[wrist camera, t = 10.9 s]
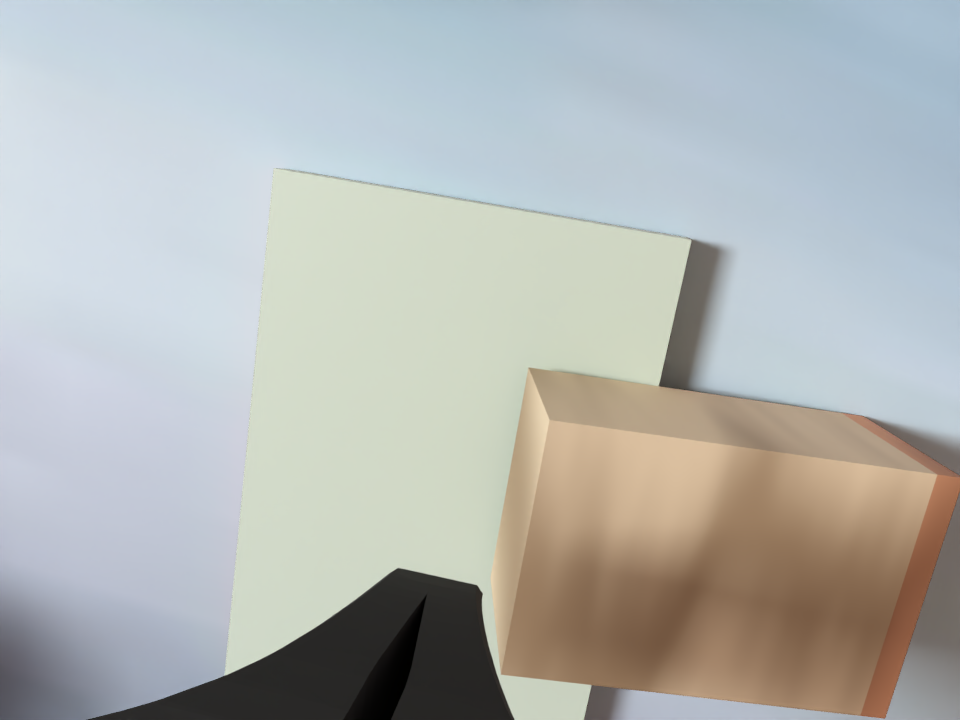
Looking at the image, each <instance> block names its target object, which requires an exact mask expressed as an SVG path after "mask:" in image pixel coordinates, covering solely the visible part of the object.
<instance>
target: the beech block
mask: <svg viewBox="0 0 960 720" xmlns="http://www.w3.org/2000/svg"><path fill="white" fill-rule="evenodd" d="M959 492H960V476H959V475H958V474H956V473H955V472H953V471H951V470H950V469H948V468H946V467H945V466H943V465H942V464H940V463H938V462H937V461H935V460H933V459H932V458H930V457H929V456H927V455H925V454H924V453H922V452H920V451H919V450H917V449H916V448H914V447H912V446H911V445H909V444H907V443H906V442H904V441H903V440H901V439H899V438H898V437H896V436H895V435H893V434H891V433H890V432H888V431H886V430H885V429H883V428H882V427H880V426H878V425H877V424H875V423H873V422H872V421H870V420H869V419H867V418H865V417H864V416H859V415H852V414H845V413H838V412H831V411H824V410H818V409H811V408H804V407H797V406H790V405H783V404H776V403H770V402H763V401H756V400H749V399H742V398H735V397H728V396H722V395H715V394H708V393H701V392H694V391H687V390H680V389H674V388H667V387H660V386H653V385H646V384H639V383H632V382H626V381H619V380H612V379H605V378H598V377H591V376H584V375H578V374H571V373H564V372H557V371H550V370H543V369H536V368H530V367H529V368H528V373H527V379H526V384H525V390H524V395H523V401H522V406H521V412H520V417H519V423H518V428H517V434H516V439H515V445H514V450H513V456H512V461H511V467H510V472H509V478H508V483H507V489H506V494H505V500H504V505H503V511H502V516H501V522H500V527H499V533H498V539H497V544H496V550H495V555H494V561H493V566H492V572H491V577H490V579H491V588H492V597H493V606H494V616H495V625H496V634H497V644H498V653H499V662H500V671H501V675H508V676H516V677H525V678H534V679H543V680H552V681H560V682H569V683H578V684H587V685H595V686H604V687H613V688H622V689H631V690H639V691H648V692H657V693H666V694H674V695H683V696H692V697H701V698H710V699H718V700H727V701H736V702H745V703H753V704H762V705H771V706H780V707H789V708H797V709H806V710H815V711H824V712H832V713H841V714H850V715H859V716H868V717H876V718H885V717H886V714H887V711H888V708H889V705H890V702H891V699H892V696H893V693H894V690H895V686H896V683H897V680H898V677H899V674H900V671H901V668H902V665H903V662H904V659H905V656H906V653H907V650H908V647H909V644H910V641H911V638H912V635H913V632H914V629H915V626H916V623H917V620H918V617H919V614H920V610H921V607H922V604H923V601H924V598H925V595H926V592H927V589H928V586H929V583H930V580H931V577H932V574H933V571H934V568H935V565H936V562H937V559H938V556H939V553H940V550H941V547H942V544H943V541H944V537H945V534H946V531H947V528H948V525H949V522H950V519H951V516H952V513H953V510H954V507H955V504H956V501H957V498H958V495H959Z"/></svg>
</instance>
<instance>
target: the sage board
mask: <svg viewBox="0 0 960 720" xmlns="http://www.w3.org/2000/svg"><path fill="white" fill-rule="evenodd" d="M691 241H692V240H691V239H689V238H687V237H681V236H676V235H670V234H664V233H658V232H652V231H646V230H641V229H635V228H629V227H623V226H617V225H611V224H606V223H600V222H594V221H588V220H582V219H576V218H571V217H565V216H559V215H553V214H547V213H542V212H536V211H530V210H524V209H518V208H512V207H507V206H501V205H495V204H489V203H483V202H477V201H472V200H466V199H460V198H454V197H448V196H442V195H437V194H431V193H425V192H419V191H413V190H407V189H402V188H396V187H390V186H384V185H378V184H372V183H367V182H361V181H355V180H349V179H343V178H337V177H332V176H326V175H320V174H314V173H308V172H302V171H297V170H291V169H278V168H274V171H273V181H272V192H271V202H270V212H269V223H268V233H267V243H266V253H265V264H264V274H263V284H262V295H261V305H260V315H259V326H258V336H257V346H256V356H255V367H254V377H253V387H252V398H251V408H250V418H249V428H248V439H247V449H246V459H245V470H244V480H243V490H242V501H241V511H240V521H239V531H238V542H237V552H236V562H235V573H234V583H233V593H232V604H231V614H230V624H229V634H228V645H227V655H226V665H225V675H228V674H230V673H232V672H234V671H236V670H239V669H241V668H243V667H245V666H247V665H249V664H252V663H254V662H256V661H258V660H260V659H262V658H264V657H266V656H268V655H270V654H272V653H274V652H276V651H277V650H279V649H281V648H282V647H284V646H286V645H287V644H289V643H291V642H292V641H294V640H296V639H297V638H299V637H301V636H302V635H304V634H306V633H307V632H309V631H311V630H312V629H314V628H315V627H317V626H318V625H320V624H321V623H323V622H324V621H326V620H327V619H329V618H330V617H331V616H333V615H334V614H336V613H337V612H339V611H340V610H341V609H343V608H344V607H346V606H347V605H349V604H350V603H351V602H353V601H354V600H355V599H357V598H358V597H359V596H361V595H362V594H363V593H365V592H366V591H367V590H369V589H370V588H371V587H372V586H374V585H375V584H376V583H378V582H379V581H380V580H381V579H383V578H384V577H385V576H387V575H388V574H389V573H391V572H392V571H394V570H395V569H397V568H402V569H406V570H411V571H415V572H420V573H424V574H429V575H434V576H438V577H443V578H447V579H452V580H456V581H461V582H465V583H470V584H475V585H477V586H478V587H479V589H480V590H481V592H482V593H483V596H482V613H483V621H484V626H485V632H486V637H487V641H488V645H489V649H490V652H491V656H492V659H493V663H494V666H495V670H496V673H497V676H498V679H499V682H500V685H501V687H502V690H503V692H504V695H505V698H506V700H507V703H508V705H509V708H510V710H511V713H512V715H513V717H514V720H584V717H585V712H586V708H587V703H588V699H589V694H590V690H591V686H592V685H587V684H578V683H569V682H560V681H552V680H543V679H534V678H525V677H516V676H508V675H501V671H500V662H499V653H498V644H497V634H496V625H495V616H494V606H493V597H492V588H491V579H490V577H491V572H492V566H493V561H494V555H495V550H496V544H497V539H498V533H499V527H500V522H501V516H502V511H503V505H504V500H505V494H506V489H507V483H508V478H509V472H510V467H511V461H512V456H513V450H514V445H515V439H516V434H517V428H518V423H519V417H520V412H521V406H522V401H523V395H524V390H525V384H526V379H527V373H528V368H529V367H530V368H536V369H543V370H550V371H557V372H564V373H571V374H578V375H584V376H591V377H598V378H605V379H612V380H619V381H626V382H632V383H639V384H646V385H653V386H659V383H660V379H661V374H662V370H663V365H664V361H665V356H666V352H667V347H668V343H669V339H670V334H671V330H672V325H673V321H674V316H675V312H676V307H677V303H678V298H679V294H680V290H681V285H682V281H683V276H684V272H685V267H686V263H687V258H688V254H689V250H690V245H691Z"/></svg>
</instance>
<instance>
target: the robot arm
mask: <svg viewBox="0 0 960 720" xmlns="http://www.w3.org/2000/svg"><path fill="white" fill-rule="evenodd" d="M482 596H483V593H482V592H481V590H480V589H479V587H478V586H477V585H475V584H470V583H465V582H461V581H456V580H452V579H447V578H443V577H438V576H434V575H429V574H424V573H420V572H415V571H411V570H406V569H402V568H397V569H395V570H394V571H392V572H391V573H389V574H388V575H387V576H385V577H384V578H383V579H381V580H380V581H379V582H378V583H376V584H375V585H374V586H372V587H371V588H370V589H369V590H367V591H366V592H365V593H363V594H362V595H361V596H359V597H358V598H357V599H355V600H354V601H353V602H351V603H350V604H349V605H347V606H346V607H344V608H343V609H341V610H340V611H339V612H337V613H336V614H334V615H333V616H331V617H330V618H329V619H327V620H326V621H324V622H323V623H321V624H320V625H318V626H317V627H315V628H314V629H312V630H311V631H309V632H307V633H306V634H304V635H302V636H301V637H299V638H297V639H296V640H294V641H292V642H291V643H289V644H287V645H286V646H284V647H282V648H281V649H279V650H277V651H276V652H274V653H272V654H270V655H268V656H266V657H264V658H262V659H260V660H258V661H256V662H254V663H252V664H249V665H247V666H245V667H243V668H241V669H239V670H236V671H234V672H232V673H230V674H228V675H225V676H223V677H221V678H218V679H216V680H213V681H210V682H207V683H205V684H202V685H199V686H196V687H194V688H191V689H188V690H185V691H183V692H180V693H177V694H175V695H172V696H169V697H166V698H164V699H161V700H158V701H154V702H151V703H148V704H144V705H141V706H137V707H134V708H130V709H127V710H124V711H120V712H116V713H112V714H108V715H104V716H100V717H96V718H92V719H88V720H514V717H513V715H512V713H511V710H510V708H509V705H508V703H507V700H506V698H505V695H504V692H503V690H502V687H501V685H500V682H499V679H498V676H497V673H496V670H495V666H494V663H493V659H492V656H491V652H490V649H489V645H488V641H487V637H486V632H485V626H484V621H483V613H482Z"/></svg>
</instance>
